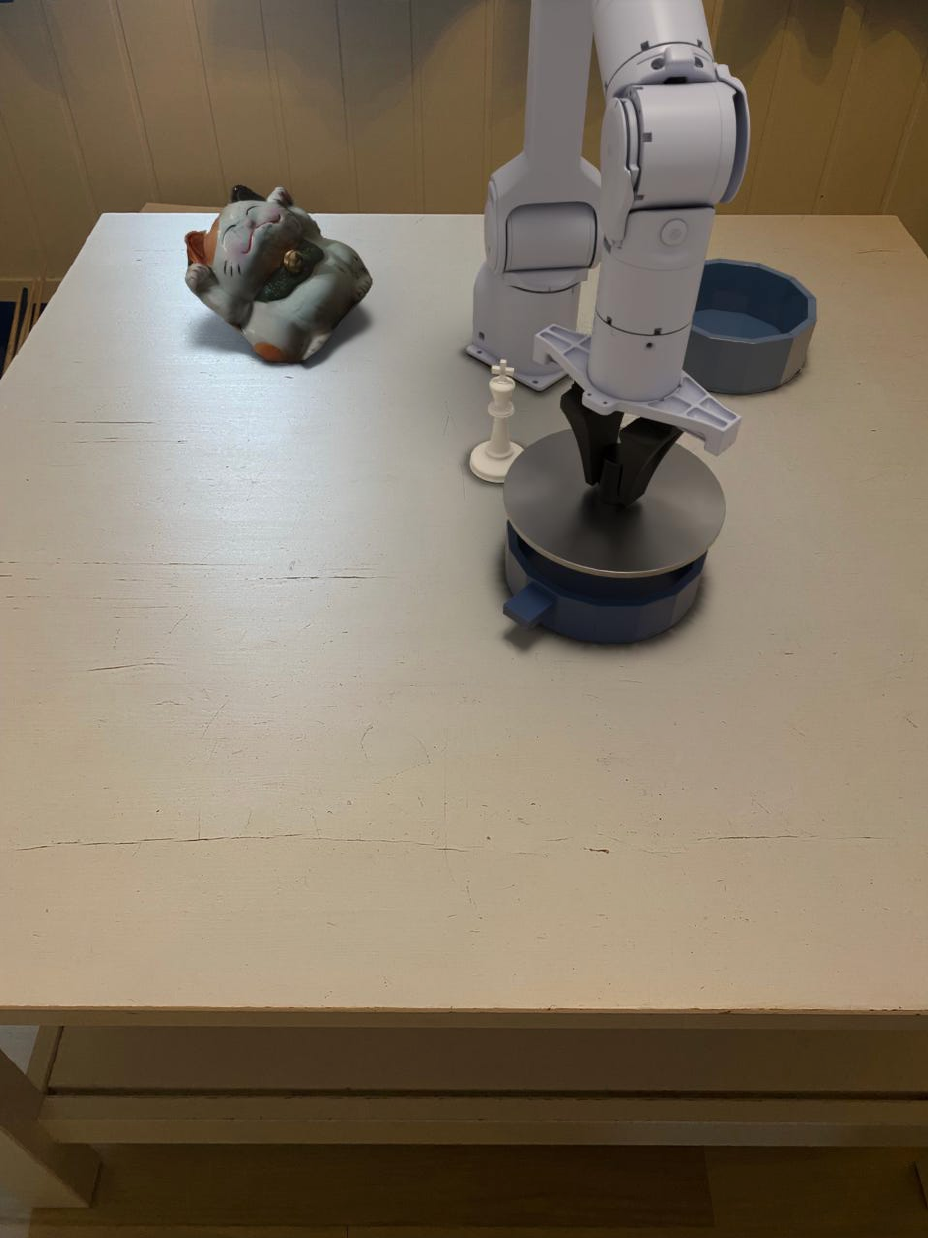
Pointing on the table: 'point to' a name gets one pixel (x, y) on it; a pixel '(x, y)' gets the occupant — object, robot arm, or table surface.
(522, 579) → the pan
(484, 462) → the chess piece
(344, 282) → the lucky cat figurine
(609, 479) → the lid
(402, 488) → the table surface
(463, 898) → the table surface
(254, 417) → the table surface
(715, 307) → the pot
